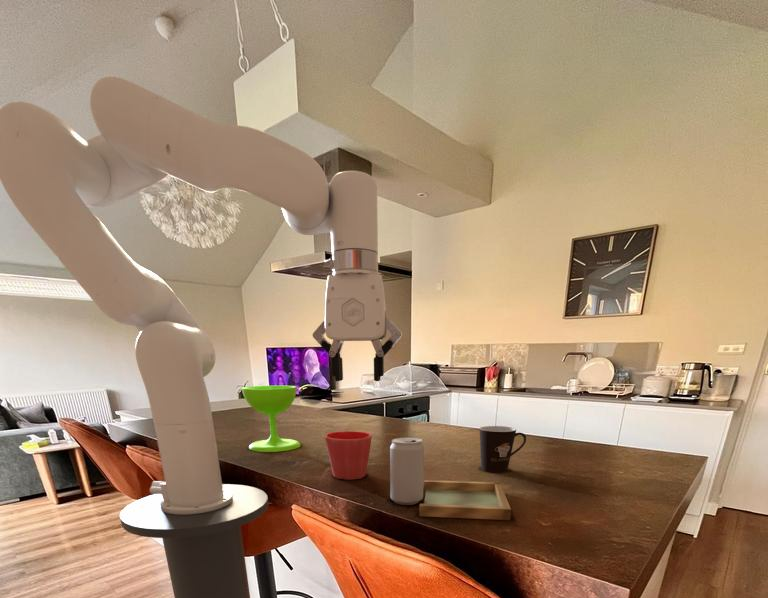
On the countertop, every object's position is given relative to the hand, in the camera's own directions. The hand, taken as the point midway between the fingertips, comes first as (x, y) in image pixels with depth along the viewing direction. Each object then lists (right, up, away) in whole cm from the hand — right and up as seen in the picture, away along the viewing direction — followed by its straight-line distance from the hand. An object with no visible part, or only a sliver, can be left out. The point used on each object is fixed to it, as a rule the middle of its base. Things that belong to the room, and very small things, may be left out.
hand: (358, 379), depth 76 cm
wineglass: (-30, -3, +57) cm, 65 cm away
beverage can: (+9, -22, +7) cm, 25 cm away
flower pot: (-3, -15, +24) cm, 29 cm away
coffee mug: (+34, -13, +29) cm, 46 cm away
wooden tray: (+20, -22, +5) cm, 30 cm away
